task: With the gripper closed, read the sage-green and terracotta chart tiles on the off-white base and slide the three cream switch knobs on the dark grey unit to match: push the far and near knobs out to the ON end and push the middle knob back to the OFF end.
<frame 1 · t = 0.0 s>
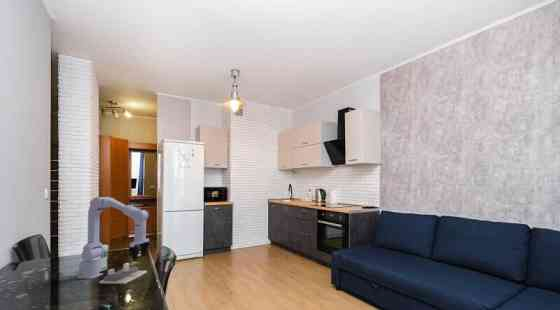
hand: (139, 258, 152), 10 cm above the table, fingers open, 7 cm apart
knob middle: (125, 268, 151), point 5 cm above the table, slide at 4.0 cm
knob near: (111, 272, 146), point 5 cm above the table, slide at 0.0 cm
knob far: (126, 265, 158), point 5 cm above the table, slide at 0.0 cm
switch unit: (124, 277, 151), on the table
syrup box: (99, 270, 167), on the table
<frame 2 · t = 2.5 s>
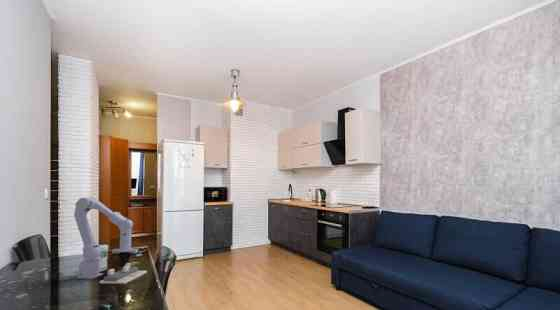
hand: (124, 266, 158), 4 cm above the table, fingers closed
knob far: (127, 265, 158), point 5 cm above the table, slide at 0.8 cm, touching gripper
everything else where it was.
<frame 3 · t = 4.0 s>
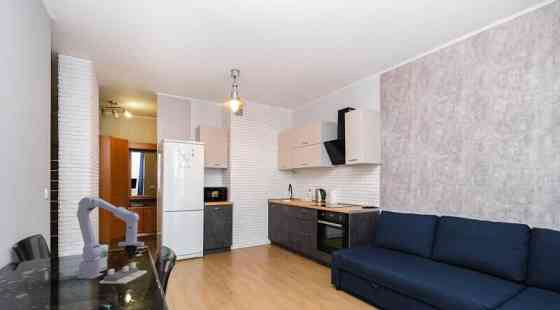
hand: (130, 259, 158), 8 cm above the table, fingers closed
knob far: (132, 265, 157), point 5 cm above the table, slide at 4.1 cm
everything else where it was.
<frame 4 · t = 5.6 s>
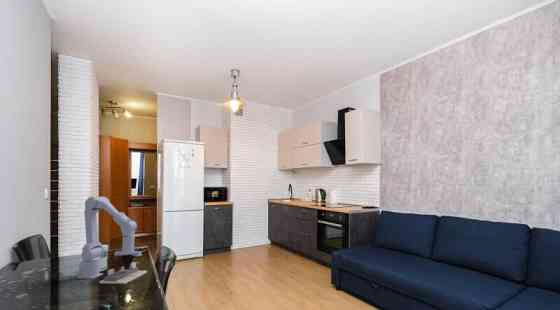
hand: (127, 269, 151), 4 cm above the table, fingers closed
knob middle: (124, 268, 152), point 5 cm above the table, slide at 3.0 cm, touching gripper
everything else where it was.
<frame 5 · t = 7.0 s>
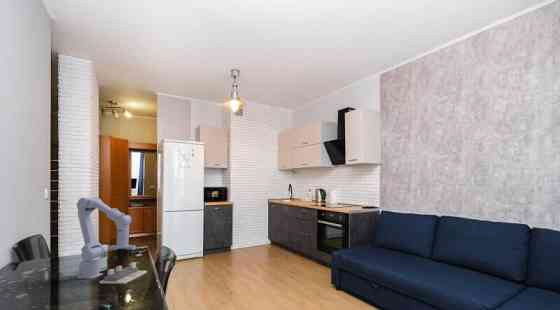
hand: (121, 263, 152), 8 cm above the table, fingers closed
knob middle: (118, 268, 152), point 5 cm above the table, slide at -0.1 cm
everything else where it was.
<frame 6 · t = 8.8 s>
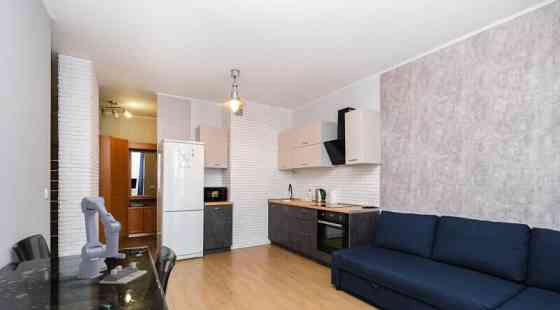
hand: (110, 272, 146), 4 cm above the table, fingers closed
knob near: (114, 272, 146), point 5 cm above the table, slide at 1.6 cm, touching gripper
everything else where it was.
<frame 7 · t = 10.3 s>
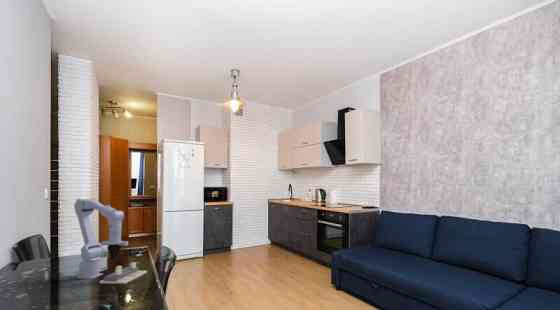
hand: (113, 259, 150), 10 cm above the table, fingers closed
knob near: (118, 272, 146), point 5 cm above the table, slide at 4.1 cm
everything else where it was.
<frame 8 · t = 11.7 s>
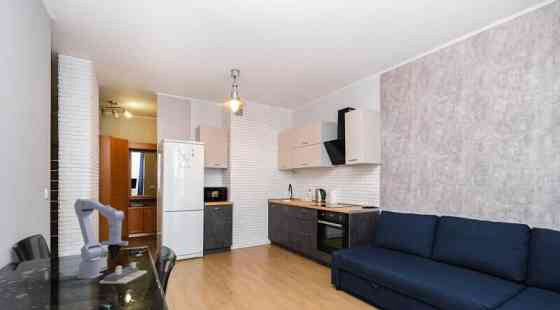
hand: (113, 259, 150), 10 cm above the table, fingers closed
nothing on the table moved.
at the end: knob far slide at 4.1 cm; knob middle slide at -0.1 cm; knob near slide at 4.1 cm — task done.
